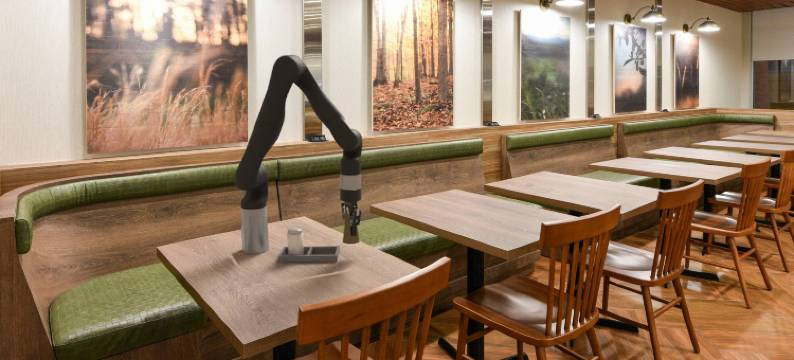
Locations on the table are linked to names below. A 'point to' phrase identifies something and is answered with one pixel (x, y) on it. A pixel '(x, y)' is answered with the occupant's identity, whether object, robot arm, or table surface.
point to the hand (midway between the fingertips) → (351, 233)
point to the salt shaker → (295, 241)
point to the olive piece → (347, 236)
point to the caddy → (312, 254)
